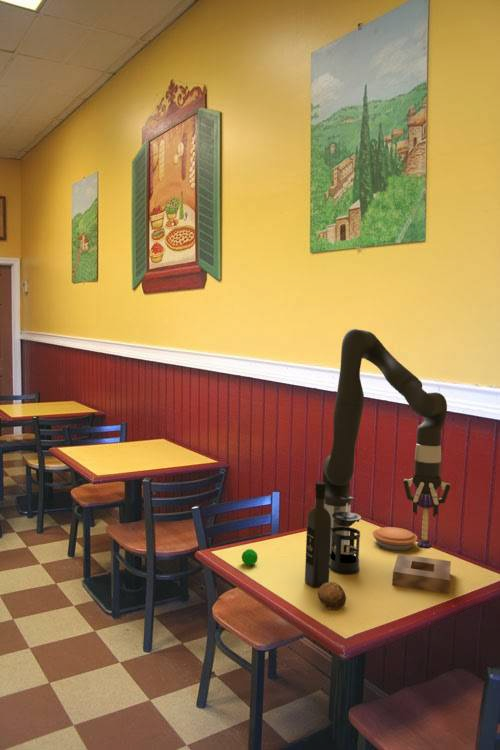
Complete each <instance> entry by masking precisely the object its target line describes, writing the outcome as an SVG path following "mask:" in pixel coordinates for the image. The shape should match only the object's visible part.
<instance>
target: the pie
mask: <svg viewBox="0 0 500 750" xmlns="http://www.w3.org/2000/svg"><path fill="white" fill-rule="evenodd" d="M372 536H373V538H374V539H375V541H376V542H377V544H378V546H380V547H381V548H384V549H386V550H391V551H397V552H398V551H406V550H407V551H408V550H409V549H411V547H412V546H413V545H414V543H416V542H418V537H419V536H417V534H415V533H414V532H412V531H411V530H408V529H405V528H401V527H394V526H385V527H384V526H383V527H380V528H378V529H375V530H373V531H372Z"/></svg>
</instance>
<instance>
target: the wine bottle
mask: <svg viewBox="0 0 500 750" xmlns="http://www.w3.org/2000/svg"><path fill="white" fill-rule="evenodd" d="M314 485H315V489H314V490H315V497H314V498H315V499H314V500H315V501H314V502H315V503H314V507H313V508H311V509H310V510H309V512H308V514H307V518H306V540H305V545H306V546H305V564H304V565H305V567H304V582H305V583H306V584H308V585H310V586H311V587H313V588H320V586H322V585H323V584H324V583H328V582H330V568H329V565H330V541H331V516H330V514H329V512H328V511H327V509H326V508H325V491H326V483H324V482H323V481H317V482H315V484H314Z"/></svg>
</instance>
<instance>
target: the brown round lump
mask: <svg viewBox="0 0 500 750" xmlns="http://www.w3.org/2000/svg"><path fill="white" fill-rule="evenodd" d="M344 590H345V589H343V587H341V585H340V584H338V583H337V582H335V581H334V582H332V581H329V582H328V583H324V584H323V585H322V586H320V587H318V591H317V597H318V600H319V601H320V603H321V604H322V606H323V607H324V608H326V609H329V610H332V611H333V610H334V611H336V610H338V609H341V608H342V607H343V606H344V605H345V604H346V602H347V601H346V600H347V595H346V593H345V591H344Z"/></svg>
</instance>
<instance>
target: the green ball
mask: <svg viewBox="0 0 500 750" xmlns="http://www.w3.org/2000/svg"><path fill="white" fill-rule="evenodd" d="M258 558H259V557H258V552H257V551H255V550H253V549H251V548H248V549H245V550H244V551H243V552H242V554H241V561H242V563H244V564H245V566H248V565H251V566H253V565H255V564H256V563H257V562H258Z"/></svg>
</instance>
